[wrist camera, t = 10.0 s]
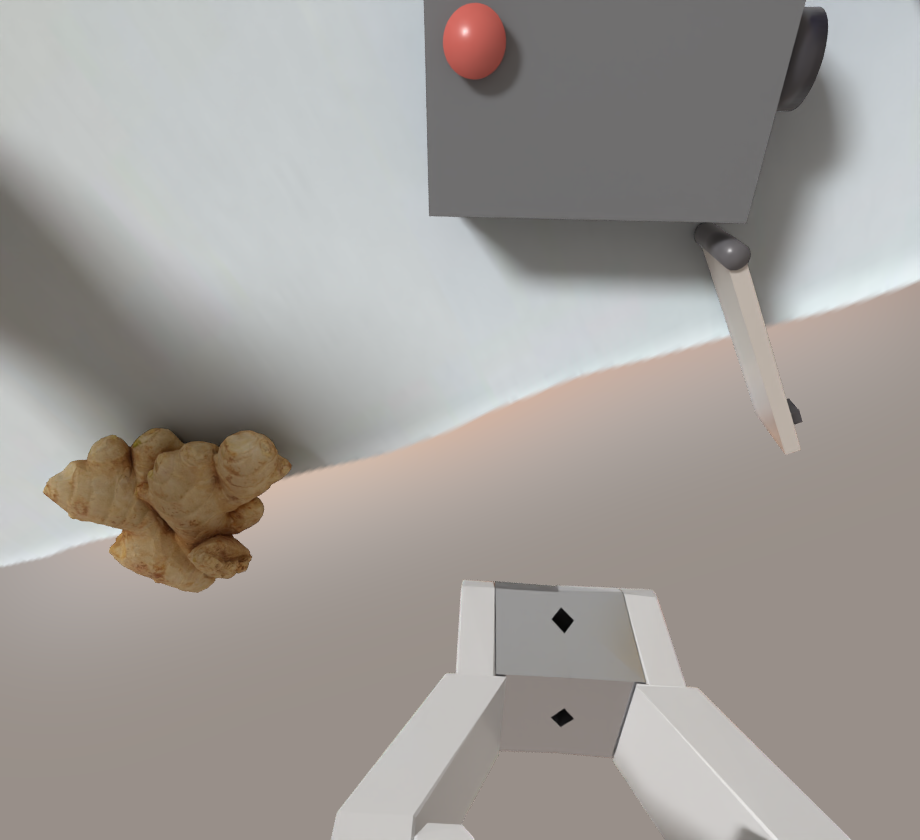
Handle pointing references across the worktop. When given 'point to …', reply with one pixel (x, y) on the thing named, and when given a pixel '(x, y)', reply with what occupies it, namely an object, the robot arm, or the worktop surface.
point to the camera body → (610, 104)
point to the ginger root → (173, 501)
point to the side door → (749, 333)
